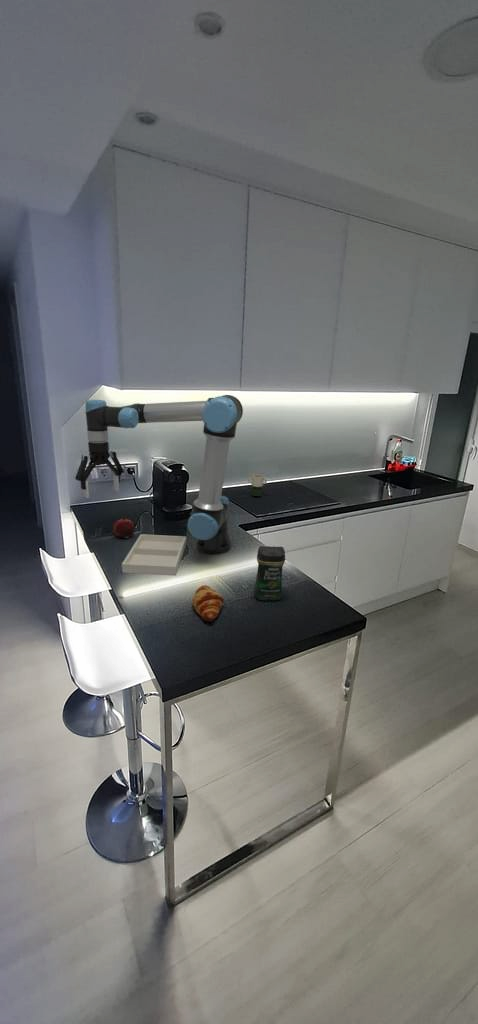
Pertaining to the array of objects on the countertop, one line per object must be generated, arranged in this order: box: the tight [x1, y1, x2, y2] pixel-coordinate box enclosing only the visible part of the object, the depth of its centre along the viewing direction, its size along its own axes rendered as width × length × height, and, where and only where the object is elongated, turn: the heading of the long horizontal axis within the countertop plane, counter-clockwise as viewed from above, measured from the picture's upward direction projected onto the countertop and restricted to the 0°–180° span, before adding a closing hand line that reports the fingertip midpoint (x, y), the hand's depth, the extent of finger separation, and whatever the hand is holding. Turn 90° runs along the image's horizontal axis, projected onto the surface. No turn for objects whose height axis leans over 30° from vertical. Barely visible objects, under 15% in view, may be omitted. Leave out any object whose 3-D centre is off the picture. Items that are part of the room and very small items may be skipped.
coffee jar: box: [253, 545, 286, 602], centre depth 145 cm, size 10×8×19 cm
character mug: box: [247, 473, 268, 497], centre depth 255 cm, size 11×7×13 cm, turn 92°
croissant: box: [191, 584, 225, 622], centre depth 139 cm, size 21×10×8 cm, turn 10°
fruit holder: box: [121, 533, 187, 576], centre depth 172 cm, size 20×29×4 cm
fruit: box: [112, 514, 135, 539], centre depth 189 cm, size 9×10×10 cm
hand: (101, 493), depth 172 cm, fingers open, 13 cm apart
